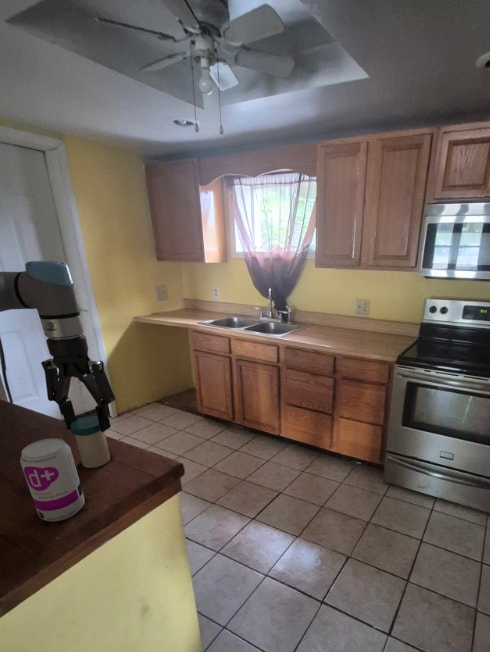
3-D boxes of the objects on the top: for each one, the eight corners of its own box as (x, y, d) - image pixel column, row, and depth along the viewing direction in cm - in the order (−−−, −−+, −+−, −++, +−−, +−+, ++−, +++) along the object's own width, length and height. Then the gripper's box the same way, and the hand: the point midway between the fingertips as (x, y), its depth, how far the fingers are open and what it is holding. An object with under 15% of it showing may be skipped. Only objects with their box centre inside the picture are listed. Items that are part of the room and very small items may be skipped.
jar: (76, 466, 91) (65, 429, 87) (92, 453, 97) (84, 417, 93) (100, 469, 90) (90, 431, 86) (115, 455, 96) (107, 419, 92)
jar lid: (64, 434, 87) (62, 428, 86) (84, 421, 94) (83, 415, 93) (92, 436, 86) (90, 430, 86) (110, 423, 93) (109, 417, 92)
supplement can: (71, 523, 73) (52, 458, 67) (30, 523, 73) (6, 458, 67) (93, 497, 80) (77, 437, 74) (55, 497, 80) (36, 436, 74)
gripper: (8, 338, 79) (38, 432, 88) (98, 341, 76) (120, 438, 85) (35, 330, 86) (61, 418, 95) (120, 333, 83) (137, 423, 92)
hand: (89, 427), depth 90 cm, fingers open, 8 cm apart
